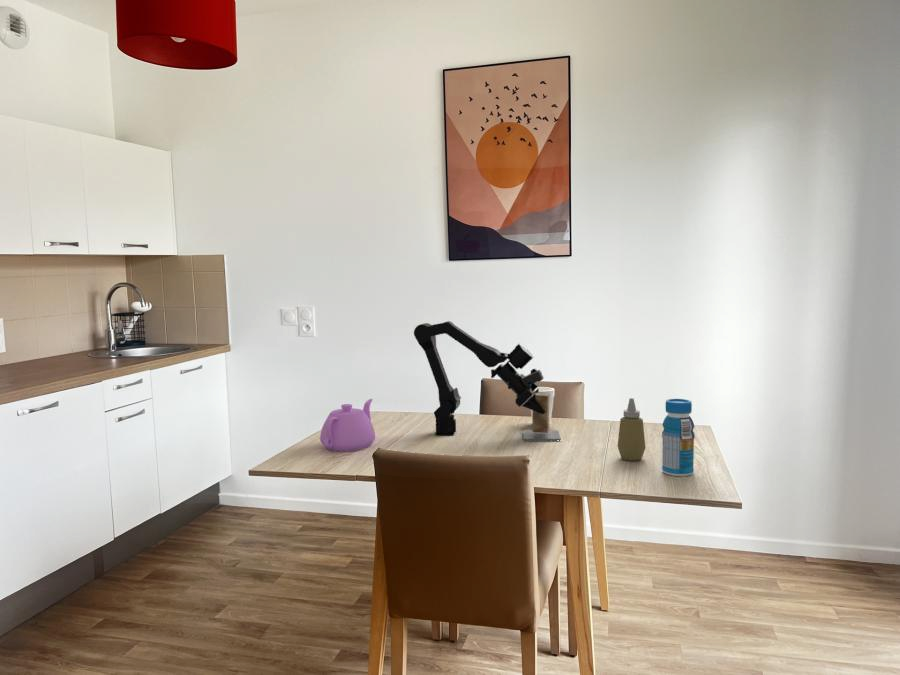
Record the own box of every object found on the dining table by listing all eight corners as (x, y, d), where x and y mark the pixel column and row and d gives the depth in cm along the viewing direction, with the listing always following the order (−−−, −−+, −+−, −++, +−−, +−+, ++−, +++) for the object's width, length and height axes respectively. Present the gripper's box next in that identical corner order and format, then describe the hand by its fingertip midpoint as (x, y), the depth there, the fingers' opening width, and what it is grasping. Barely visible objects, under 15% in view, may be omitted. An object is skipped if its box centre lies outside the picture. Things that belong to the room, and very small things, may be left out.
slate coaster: (524, 441, 227) (524, 438, 227) (523, 432, 239) (523, 430, 239) (560, 441, 226) (560, 438, 226) (558, 432, 238) (558, 430, 238)
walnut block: (532, 432, 230) (532, 395, 229) (534, 428, 235) (534, 392, 234) (547, 432, 229) (547, 395, 228) (549, 429, 234) (549, 393, 233)
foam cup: (554, 421, 255) (553, 386, 254) (555, 427, 246) (555, 391, 245) (528, 421, 256) (527, 387, 255) (528, 427, 247) (528, 391, 246)
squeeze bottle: (614, 455, 208) (614, 396, 206) (641, 454, 207) (642, 395, 206) (620, 462, 200) (620, 401, 198) (648, 462, 199) (649, 401, 198)
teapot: (348, 457, 211) (347, 413, 210) (304, 451, 220) (302, 408, 219) (393, 439, 233) (392, 399, 232) (351, 434, 242) (350, 395, 240)
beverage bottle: (659, 475, 187) (660, 402, 185) (663, 467, 194) (664, 397, 192) (692, 478, 183) (693, 404, 181) (695, 470, 191) (696, 398, 189)
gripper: (525, 365, 222) (559, 400, 220) (532, 358, 240) (564, 390, 238) (501, 389, 224) (535, 423, 223) (510, 380, 242) (541, 412, 241)
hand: (544, 411), depth 231 cm, fingers closed on walnut block, 5 cm apart
